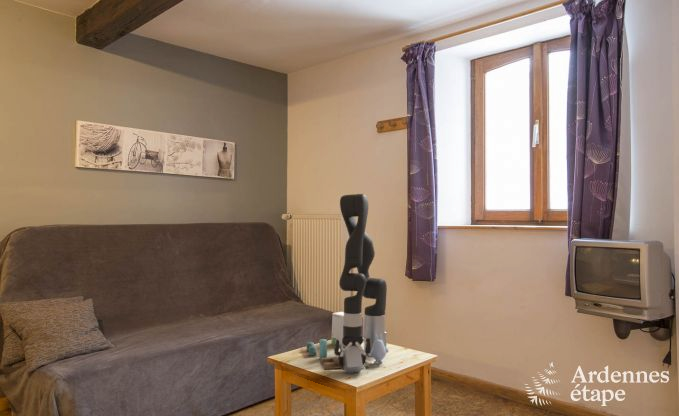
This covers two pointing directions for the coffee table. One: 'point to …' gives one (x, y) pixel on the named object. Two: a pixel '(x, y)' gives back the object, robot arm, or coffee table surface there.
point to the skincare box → (337, 326)
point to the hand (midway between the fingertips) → (352, 364)
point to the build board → (332, 362)
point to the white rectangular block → (352, 359)
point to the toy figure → (378, 350)
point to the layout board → (310, 351)
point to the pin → (322, 348)
